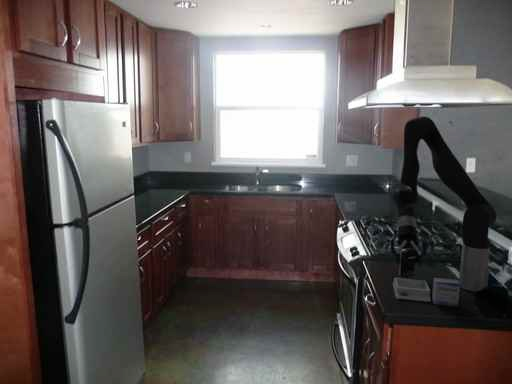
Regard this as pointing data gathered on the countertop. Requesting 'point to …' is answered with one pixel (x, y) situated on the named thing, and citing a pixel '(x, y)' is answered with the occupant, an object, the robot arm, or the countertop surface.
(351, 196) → the countertop surface
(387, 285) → the countertop surface
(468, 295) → the countertop surface
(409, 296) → the charging dock
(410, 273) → the battery charger
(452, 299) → the medicine box
